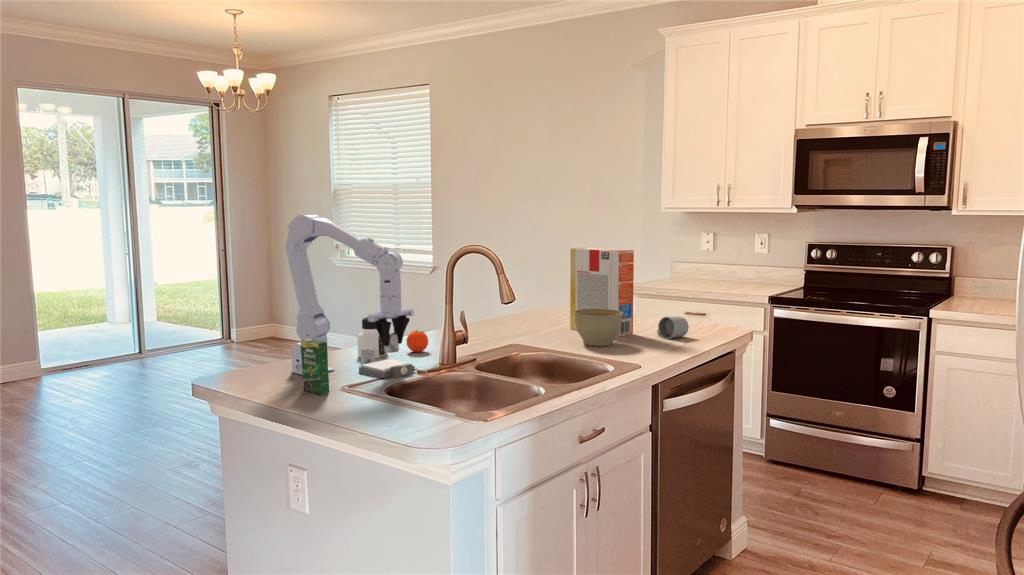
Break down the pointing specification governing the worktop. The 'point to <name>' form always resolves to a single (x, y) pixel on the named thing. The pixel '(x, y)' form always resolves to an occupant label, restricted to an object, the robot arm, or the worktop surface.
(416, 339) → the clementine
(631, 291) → the cereal box
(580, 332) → the planter bowl
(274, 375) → the worktop surface
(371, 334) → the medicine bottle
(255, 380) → the worktop surface
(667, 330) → the ceramic mug
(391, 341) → the spacer
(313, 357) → the green cardboard box
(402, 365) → the scale
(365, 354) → the spacer
